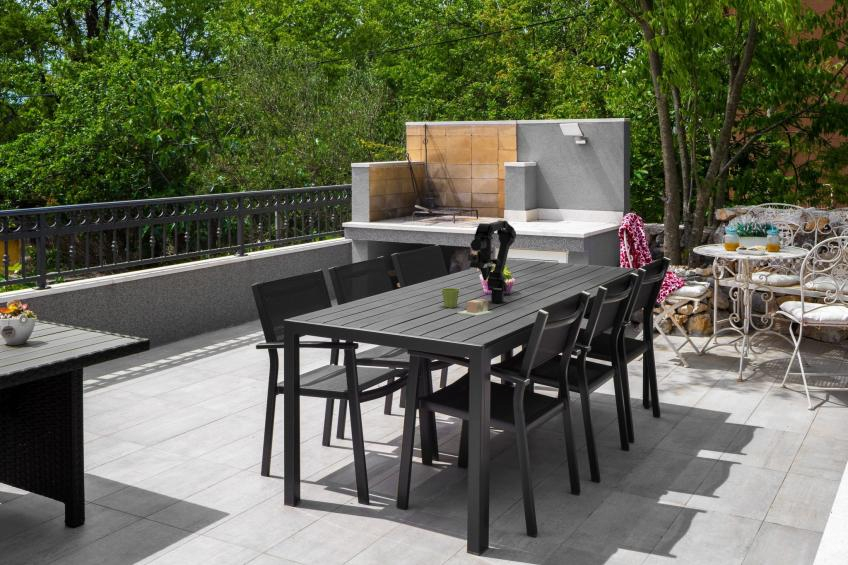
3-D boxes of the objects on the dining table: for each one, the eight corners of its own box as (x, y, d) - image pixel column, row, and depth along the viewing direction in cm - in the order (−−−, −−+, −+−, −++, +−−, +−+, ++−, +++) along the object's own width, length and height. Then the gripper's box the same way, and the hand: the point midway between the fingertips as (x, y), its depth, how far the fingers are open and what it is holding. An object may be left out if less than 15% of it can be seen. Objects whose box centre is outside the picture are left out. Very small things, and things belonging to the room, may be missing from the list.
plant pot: (444, 308, 460) (444, 291, 459) (438, 305, 469) (438, 288, 468) (462, 308, 463) (462, 290, 461) (456, 304, 472) (456, 287, 470)
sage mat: (471, 309, 458) (471, 308, 458) (492, 312, 450) (492, 311, 450) (456, 313, 449) (456, 312, 449) (477, 315, 441) (477, 314, 441)
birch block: (479, 298, 456) (466, 301, 448) (487, 299, 453) (475, 302, 445) (479, 309, 457) (466, 311, 449) (487, 310, 453) (475, 313, 446)
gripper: (482, 246, 474) (482, 277, 477) (460, 249, 460) (460, 281, 462) (501, 247, 467) (500, 279, 470) (479, 251, 453) (479, 283, 455)
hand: (485, 280), depth 464 cm, fingers closed
